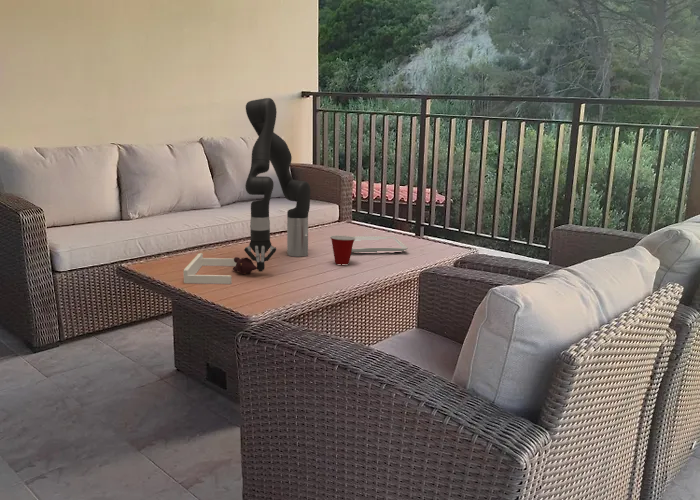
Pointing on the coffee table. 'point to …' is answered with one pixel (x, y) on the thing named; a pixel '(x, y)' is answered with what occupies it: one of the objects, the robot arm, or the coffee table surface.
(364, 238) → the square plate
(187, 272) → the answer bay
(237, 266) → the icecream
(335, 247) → the plastic cup
